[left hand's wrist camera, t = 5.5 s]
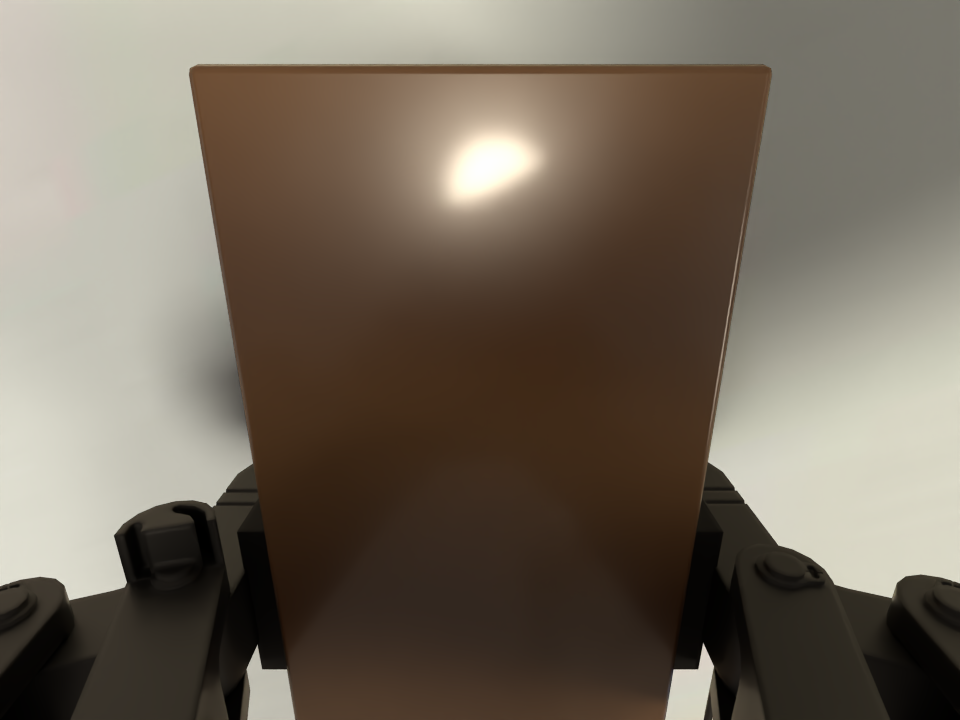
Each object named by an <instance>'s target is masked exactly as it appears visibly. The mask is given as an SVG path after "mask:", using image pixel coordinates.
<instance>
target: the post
mask: <svg viewBox="0 0 960 720" xmlns="http://www.w3.org/2000/svg"><path fill="white" fill-rule="evenodd" d="M189 77H190V83H191V89H192V95H193V101H194V107H195V113H196V120H197V126H198V132H199V138H200V144H201V150H202V156H203V162H204V168H205V174H206V180H207V186H208V192H209V198H210V205H211V211H212V217H213V223H214V229H215V235H216V241H217V247H218V253H219V259H220V265H221V271H222V277H223V283H224V289H225V296H226V302H227V308H228V314H229V320H230V326H231V332H232V338H233V344H234V350H235V356H236V362H237V368H238V374H239V381H240V387H241V393H242V399H243V405H244V411H245V417H246V423H247V429H248V435H249V441H250V447H251V453H252V459H253V465H254V472H255V478H256V484H257V490H258V496H259V502H260V508H261V514H262V520H263V526H264V532H265V538H266V544H267V550H268V557H269V563H270V569H271V575H272V581H273V587H274V593H275V599H276V605H277V611H278V617H279V623H280V629H281V635H282V641H283V648H284V654H285V660H286V666H287V672H288V678H289V684H290V690H291V696H292V702H293V708H294V714H295V720H665V717H666V711H667V705H668V699H669V693H670V687H671V681H672V675H673V669H674V663H675V657H676V651H677V645H678V639H679V632H680V626H681V620H682V614H683V608H684V602H685V596H686V590H687V584H688V578H689V572H690V566H691V560H692V554H693V548H694V542H695V536H696V530H697V524H698V518H699V512H700V506H701V500H702V494H703V488H704V482H705V476H706V469H707V463H708V457H709V451H710V445H711V439H712V433H713V427H714V421H715V415H716V409H717V403H718V397H719V391H720V385H721V379H722V373H723V367H724V361H725V355H726V349H727V343H728V337H729V331H730V325H731V319H732V313H733V306H734V300H735V294H736V288H737V282H738V276H739V270H740V264H741V258H742V252H743V246H744V240H745V234H746V228H747V222H748V216H749V210H750V204H751V198H752V192H753V186H754V180H755V174H756V168H757V162H758V156H759V150H760V143H761V137H762V131H763V125H764V119H765V113H766V107H767V101H768V95H769V89H770V83H771V77H772V72H771V68H769V67H767V66H765V65H763V64H198V65H196V66H194V67H192V68H190V72H189Z"/></svg>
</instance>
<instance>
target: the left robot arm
mask: <svg viewBox="0 0 960 720" xmlns="http://www.w3.org/2000/svg"><path fill="white" fill-rule="evenodd" d="M216 503H217V504H216V506H213V508H212V507H210V506H209V505H208V504H207V503H202V502H198V501H193V500H192V501H175V502H171V503H167V504H163V505H159V506H155V507H153V508H151V509H148V510H146V511H144V512H142V513H139V514H137V515H136V516H135V517H133V518H132V519H130V520H129V521H127V522H126V523H124V524H123V525H122V526H121V528H120V529H119V530H118V531H117V533H116V534H115V535H114V538H115V541H116V545H117V548H118V552H119V555H120V559H121V563H122V566H123V570H124V573H125V577H126V580H127V584H126V586H125V588H121V589H118V590H114V591H110V592H106V593H101V594H97V595H92V596H88V597H83V598H78V599H74V600H69V598H68V595H67V592H66V589H65V586H64V585H63V584H62V583H60V582H59V581H58V580H56V579H53V578H45V577H37V578H30V579H23V580H18V581H15V582H12V583H10V584H5V585H3V586H0V720H247V717H248V707H249V697H250V687H249V680H248V675H247V670H246V669H247V666H248V664H249V662H250V660H251V658H252V655H253V653H254V651H255V649H256V647H257V644H258V649H259V654H260V660H261V665H262V669H287V666H286V660H285V654H284V648H283V641H282V635H281V629H280V623H279V617H278V611H277V605H276V599H275V593H274V587H273V581H272V575H271V569H270V563H269V557H268V550H267V544H266V538H265V532H264V526H263V520H262V514H261V508H260V502H259V496H258V490H257V484H256V478H255V472H254V465H253V464H252V465H250V466H249V467H247V468H246V469H244V470H243V471H241V472H240V473H239V474H237V476H236V477H235V478H234V480H233V481H232V482H231V484H230V485H229V486H228V488H227V489H226V493H223V494H222V496H221V497H220V498H219V500H218V501H217V502H216ZM703 643H704V645H705V647H706V650H707V652H708V654H709V656H710V658H711V661H712V663H713V665H714V670H713V675H712V680H711V685H710V690H709V695H708V700H707V705H706V710H705V716H704V720H712V717H713V720H960V583H957V582H953V581H951V580H947V579H944V578H940V577H933V576H927V575H914V576H906V577H904V578H903V579H902V580H901V581H899V582H898V583H897V585H896V588H895V591H894V594H893V597H892V598H888V597H884V596H879V595H874V594H870V593H865V592H861V591H856V590H852V589H847V588H844V587H840V586H837V585H834V583H833V581H832V580H831V578H830V577H829V575H828V574H827V572H826V571H825V569H823V568H822V567H821V566H820V565H818V564H817V563H816V562H814V561H813V560H812V559H811V558H809V557H807V556H805V555H803V554H801V553H799V552H797V551H795V550H792V549H789V548H785V547H782V546H778V544H777V543H776V542H775V540H774V539H773V538H772V536H771V535H770V534H769V533H768V531H767V530H766V529H765V527H764V526H763V525H762V523H761V522H760V521H759V519H758V518H757V517H756V515H755V514H754V513H753V511H752V510H751V509H750V507H749V506H748V505H747V504H745V503H744V499H743V498H742V497H741V496H740V494H739V493H738V492H737V491H735V488H734V486H733V485H732V484H731V482H730V481H729V480H728V478H727V477H726V476H725V474H724V473H723V472H722V471H720V470H719V469H717V468H716V467H714V466H713V465H711V464H710V463H707V469H706V476H705V482H704V488H703V494H702V500H701V506H700V512H699V518H698V524H697V530H696V536H695V542H694V548H693V554H692V560H691V566H690V572H689V578H688V584H687V590H686V596H685V602H684V608H683V614H682V620H681V626H680V632H679V639H678V645H677V651H676V657H675V663H674V669H698V667H699V662H700V656H701V651H702V646H703Z"/></svg>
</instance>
